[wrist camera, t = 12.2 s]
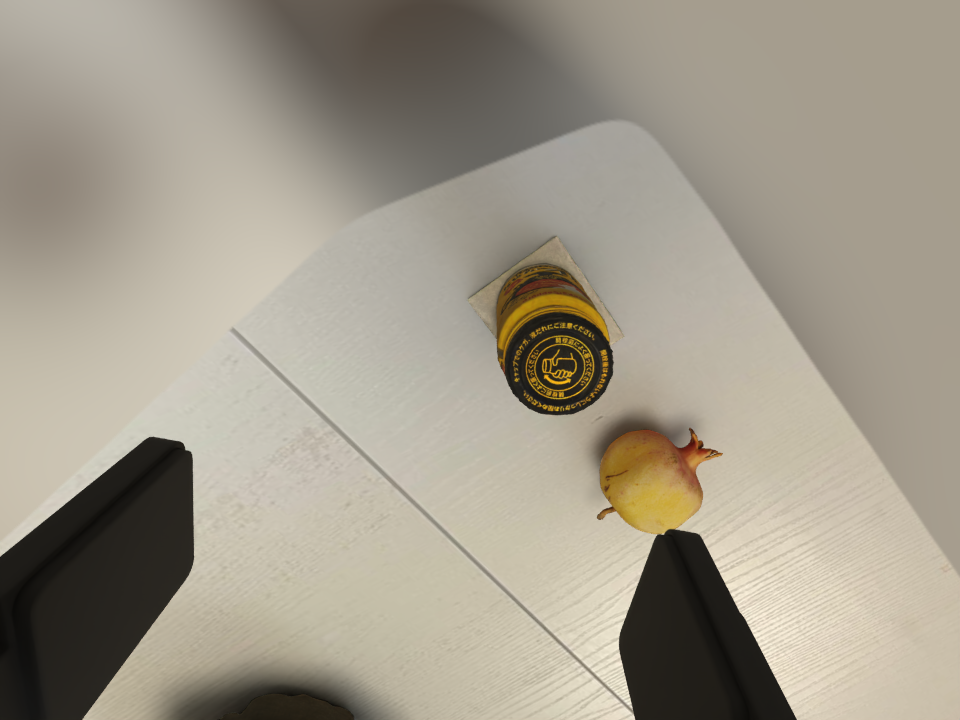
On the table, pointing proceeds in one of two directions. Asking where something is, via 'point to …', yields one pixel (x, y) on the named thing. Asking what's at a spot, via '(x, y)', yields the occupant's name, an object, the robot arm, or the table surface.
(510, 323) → the condiment
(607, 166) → the table surface
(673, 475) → the fruit
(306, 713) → the stone bowl
